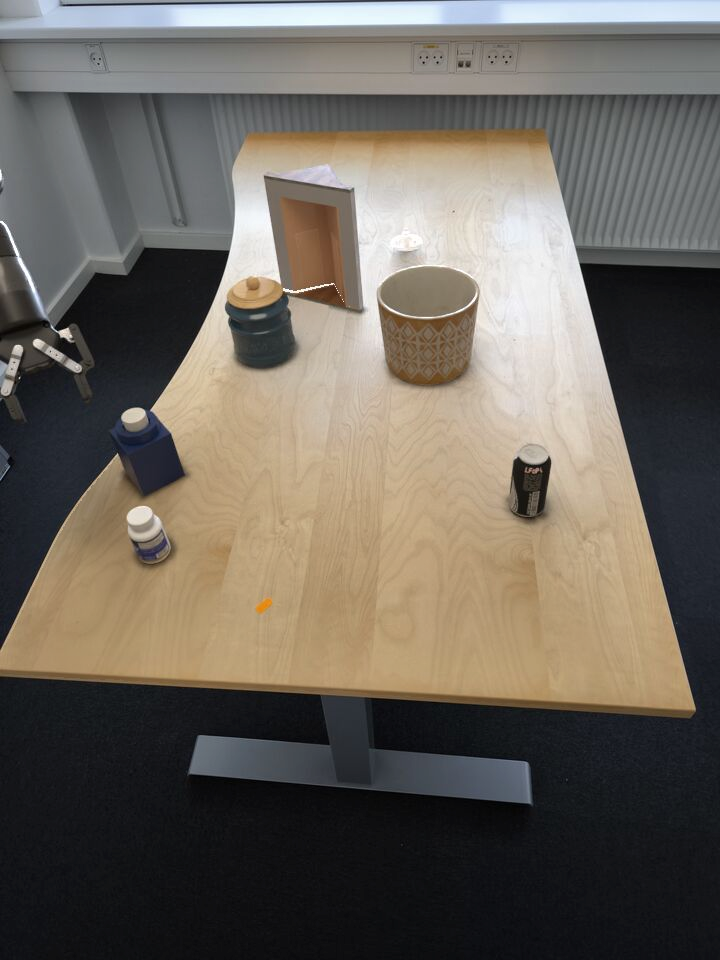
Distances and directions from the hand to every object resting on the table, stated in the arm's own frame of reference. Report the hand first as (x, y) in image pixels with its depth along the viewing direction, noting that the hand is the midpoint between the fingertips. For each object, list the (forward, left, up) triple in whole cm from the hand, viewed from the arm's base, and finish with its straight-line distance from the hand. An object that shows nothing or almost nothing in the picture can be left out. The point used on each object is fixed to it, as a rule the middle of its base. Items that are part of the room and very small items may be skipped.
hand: (55, 412), depth 99 cm
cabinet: (+71, +41, -29) cm, 87 cm away
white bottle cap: (+12, +12, -17) cm, 24 cm away
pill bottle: (+4, -4, -29) cm, 30 cm away
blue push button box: (+12, +12, -29) cm, 33 cm away
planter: (+70, +5, -29) cm, 76 cm away
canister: (+47, +31, -29) cm, 64 cm away
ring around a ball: (+97, +45, -29) cm, 111 cm away
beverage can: (+56, -36, -29) cm, 73 cm away
